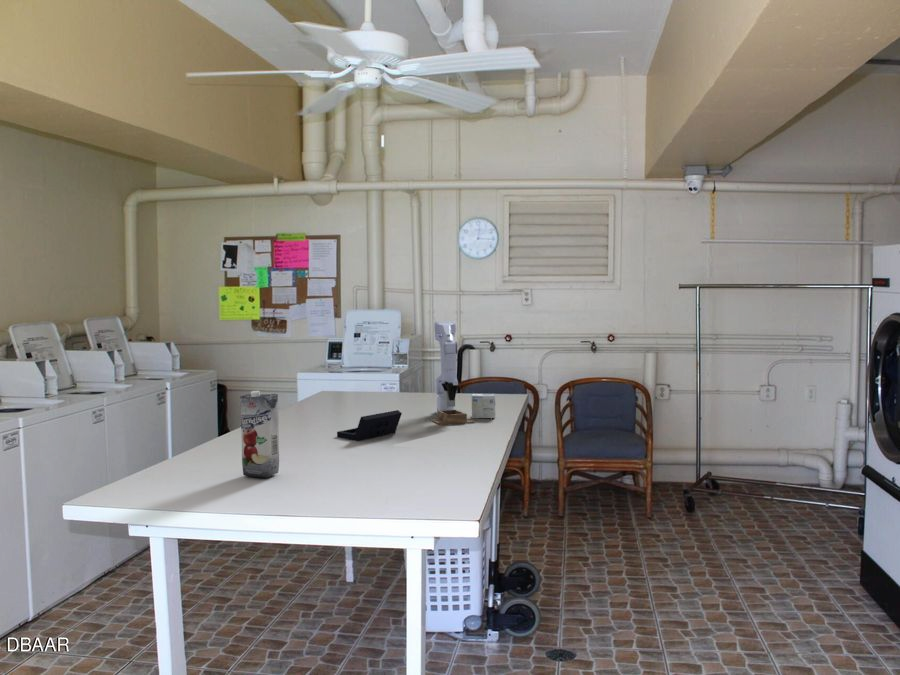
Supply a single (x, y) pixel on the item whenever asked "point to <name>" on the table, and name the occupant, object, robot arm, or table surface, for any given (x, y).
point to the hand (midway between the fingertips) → (450, 399)
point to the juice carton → (259, 434)
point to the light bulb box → (483, 406)
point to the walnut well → (451, 417)
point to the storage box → (373, 426)
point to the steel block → (448, 400)
